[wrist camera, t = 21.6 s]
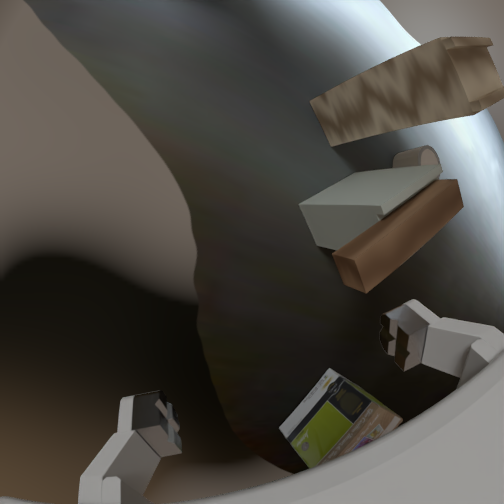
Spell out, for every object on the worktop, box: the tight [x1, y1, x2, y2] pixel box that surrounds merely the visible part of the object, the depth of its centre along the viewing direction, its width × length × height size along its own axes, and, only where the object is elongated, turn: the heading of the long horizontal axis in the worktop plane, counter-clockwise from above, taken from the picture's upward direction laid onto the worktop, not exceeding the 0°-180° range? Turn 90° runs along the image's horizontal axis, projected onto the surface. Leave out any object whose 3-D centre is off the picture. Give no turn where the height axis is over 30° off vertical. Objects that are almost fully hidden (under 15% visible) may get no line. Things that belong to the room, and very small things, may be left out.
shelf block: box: [309, 37, 504, 147], centre depth 32 cm, size 8×13×27 cm, turn 118°
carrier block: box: [299, 164, 447, 265], centre depth 38 cm, size 7×12×18 cm, turn 118°
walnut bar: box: [332, 179, 464, 293], centre depth 29 cm, size 4×18×4 cm, turn 118°
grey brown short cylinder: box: [392, 145, 440, 179], centre depth 47 cm, size 7×7×7 cm
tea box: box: [279, 368, 403, 468], centre depth 45 cm, size 15×10×15 cm, turn 140°
